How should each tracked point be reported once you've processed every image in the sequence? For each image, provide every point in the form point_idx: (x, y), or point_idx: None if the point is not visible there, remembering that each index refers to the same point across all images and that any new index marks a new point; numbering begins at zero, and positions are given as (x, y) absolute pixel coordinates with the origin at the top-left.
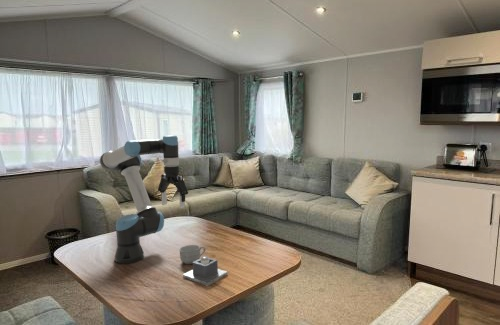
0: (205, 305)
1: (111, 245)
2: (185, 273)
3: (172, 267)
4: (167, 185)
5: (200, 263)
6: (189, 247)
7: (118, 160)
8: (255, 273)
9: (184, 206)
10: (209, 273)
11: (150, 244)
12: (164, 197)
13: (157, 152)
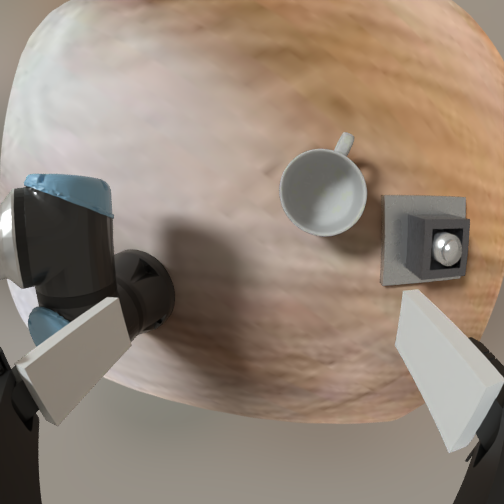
0: (479, 328)
1: None
2: (384, 277)
3: (301, 256)
4: (7, 494)
5: (445, 270)
6: (292, 167)
7: None
8: (496, 154)
9: (422, 299)
10: None
11: None
12: (81, 366)
13: None
